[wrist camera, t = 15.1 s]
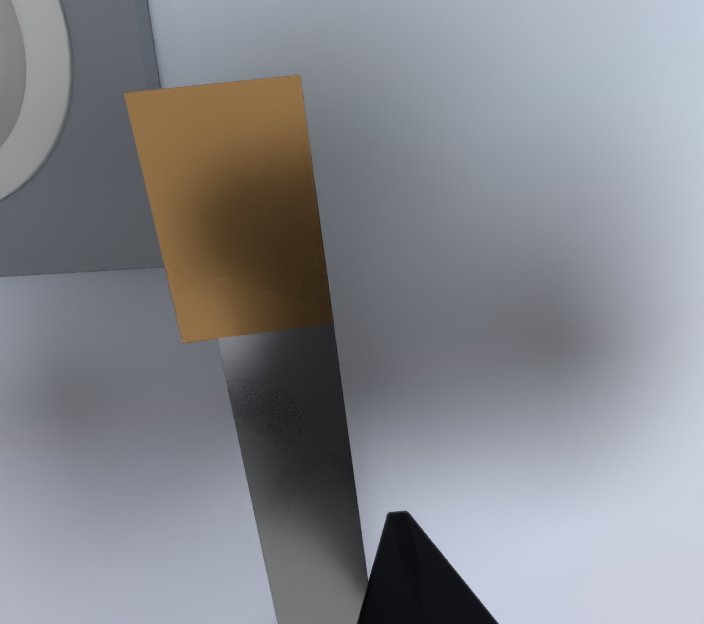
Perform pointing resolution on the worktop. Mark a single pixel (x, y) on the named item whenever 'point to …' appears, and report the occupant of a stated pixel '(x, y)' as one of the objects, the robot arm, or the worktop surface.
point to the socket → (78, 142)
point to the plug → (10, 69)
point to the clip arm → (262, 318)
